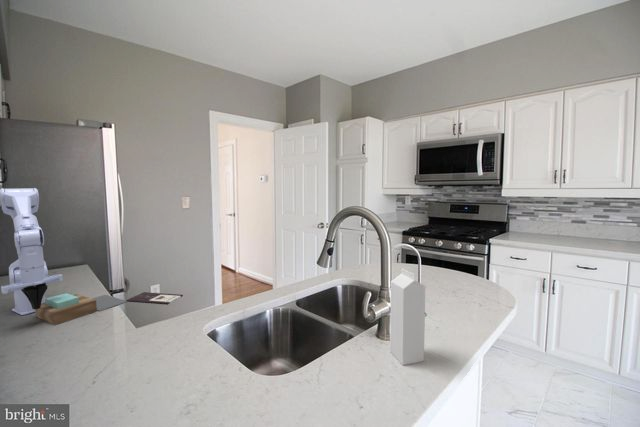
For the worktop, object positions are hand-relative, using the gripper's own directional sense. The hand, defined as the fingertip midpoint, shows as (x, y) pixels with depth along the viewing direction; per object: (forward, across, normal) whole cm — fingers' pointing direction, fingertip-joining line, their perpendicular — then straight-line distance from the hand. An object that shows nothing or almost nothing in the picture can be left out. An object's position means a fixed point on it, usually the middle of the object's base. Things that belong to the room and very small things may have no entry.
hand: (36, 308), depth 98 cm
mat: (+5, +19, 0) cm, 20 cm away
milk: (+5, +35, -110) cm, 115 cm away
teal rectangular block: (+1, +7, 0) cm, 7 cm away
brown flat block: (+5, +8, 0) cm, 9 cm away
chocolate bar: (+6, +31, -14) cm, 34 cm away
